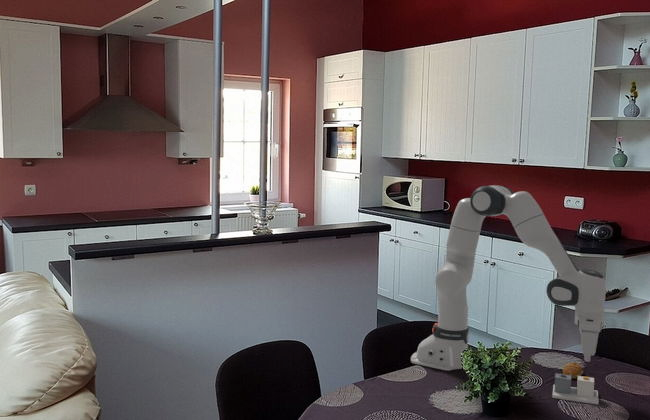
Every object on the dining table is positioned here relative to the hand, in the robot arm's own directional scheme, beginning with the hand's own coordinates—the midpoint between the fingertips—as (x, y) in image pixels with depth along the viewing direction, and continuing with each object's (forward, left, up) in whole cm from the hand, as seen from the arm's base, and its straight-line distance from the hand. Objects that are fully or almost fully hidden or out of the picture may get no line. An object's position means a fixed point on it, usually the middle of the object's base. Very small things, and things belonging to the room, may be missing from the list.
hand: (587, 360), depth 204 cm
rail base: (-3, 0, -13) cm, 13 cm away
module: (0, 0, -12) cm, 12 cm away
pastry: (-4, +21, -13) cm, 25 cm away
